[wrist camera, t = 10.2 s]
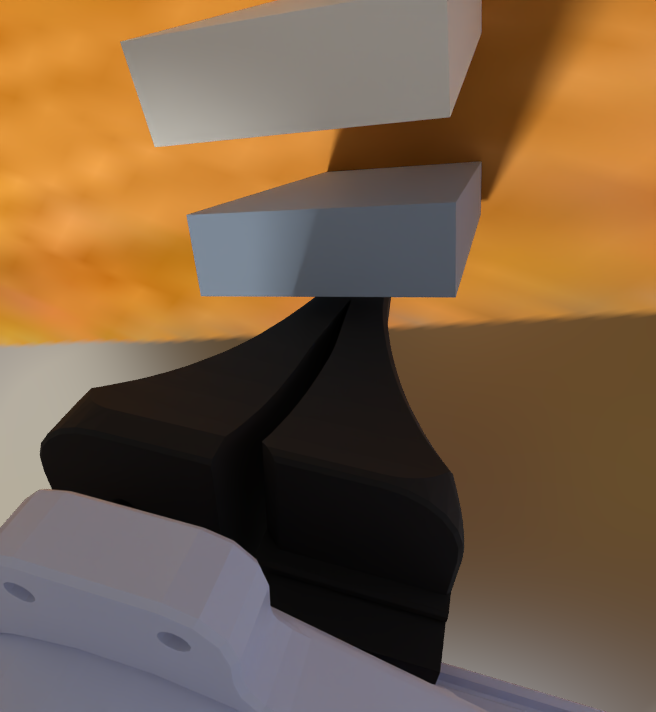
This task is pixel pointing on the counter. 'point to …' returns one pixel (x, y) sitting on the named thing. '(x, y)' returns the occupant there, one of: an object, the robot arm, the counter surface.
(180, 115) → the domino
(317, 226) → the domino
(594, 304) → the counter surface
